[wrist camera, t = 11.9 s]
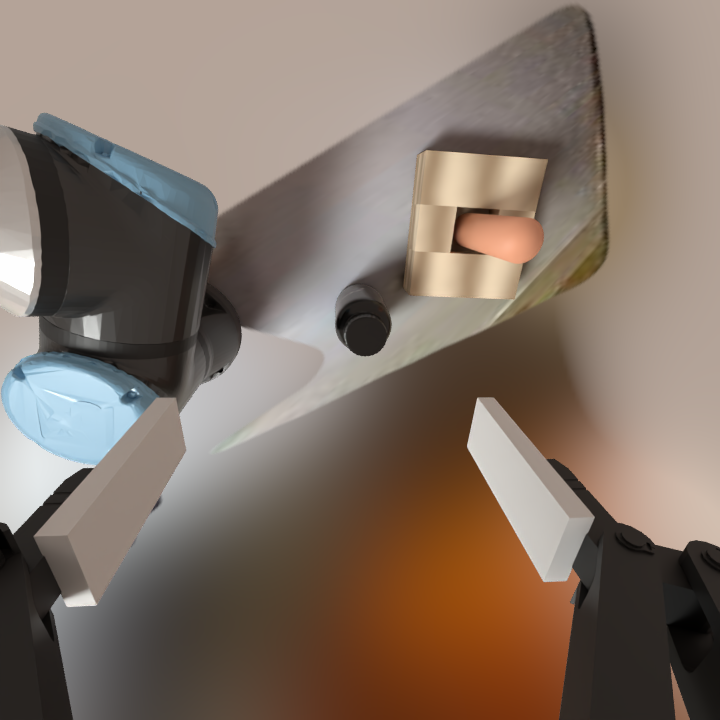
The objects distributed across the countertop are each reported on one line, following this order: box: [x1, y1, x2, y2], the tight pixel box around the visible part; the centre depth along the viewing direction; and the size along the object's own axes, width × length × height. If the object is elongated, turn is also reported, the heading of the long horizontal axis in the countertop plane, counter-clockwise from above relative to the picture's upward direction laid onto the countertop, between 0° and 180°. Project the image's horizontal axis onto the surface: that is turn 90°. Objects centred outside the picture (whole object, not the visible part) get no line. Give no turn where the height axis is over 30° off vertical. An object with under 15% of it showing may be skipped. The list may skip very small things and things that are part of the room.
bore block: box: [403, 150, 548, 299], centre depth 44 cm, size 14×16×4 cm
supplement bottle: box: [335, 284, 392, 356], centre depth 44 cm, size 7×7×12 cm
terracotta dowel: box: [452, 213, 544, 264], centre depth 38 cm, size 4×4×14 cm
